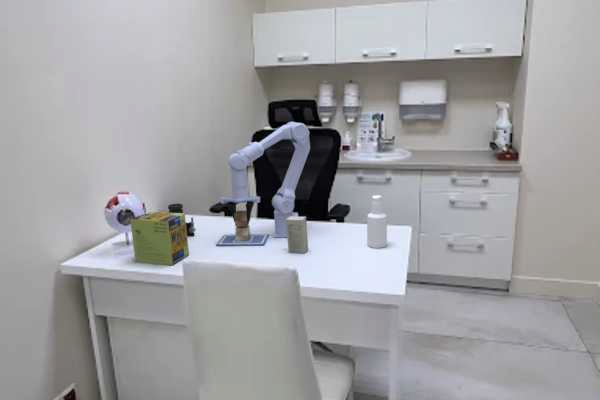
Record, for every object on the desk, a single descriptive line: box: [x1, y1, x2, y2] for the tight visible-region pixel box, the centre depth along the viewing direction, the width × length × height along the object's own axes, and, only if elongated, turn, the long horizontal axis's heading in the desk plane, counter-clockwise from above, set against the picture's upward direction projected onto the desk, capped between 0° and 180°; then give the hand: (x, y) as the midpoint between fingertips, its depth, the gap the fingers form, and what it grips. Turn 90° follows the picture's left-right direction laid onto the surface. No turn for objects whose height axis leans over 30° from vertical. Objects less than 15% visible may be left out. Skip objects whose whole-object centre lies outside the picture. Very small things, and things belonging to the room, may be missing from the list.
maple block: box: [234, 224, 251, 241], centre depth 177 cm, size 4×4×5 cm
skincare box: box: [286, 216, 309, 254], centre depth 163 cm, size 6×4×12 cm
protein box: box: [129, 211, 190, 266], centre depth 161 cm, size 10×15×16 cm
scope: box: [167, 203, 197, 238], centre depth 182 cm, size 8×14×10 cm
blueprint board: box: [216, 233, 270, 247], centre depth 178 cm, size 18×12×1 cm, turn 85°
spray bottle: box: [366, 195, 388, 249], centre depth 165 cm, size 7×7×18 cm
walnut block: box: [234, 210, 250, 228], centre depth 176 cm, size 4×4×5 cm
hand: (242, 221), depth 176 cm, fingers closed on walnut block, 4 cm apart
